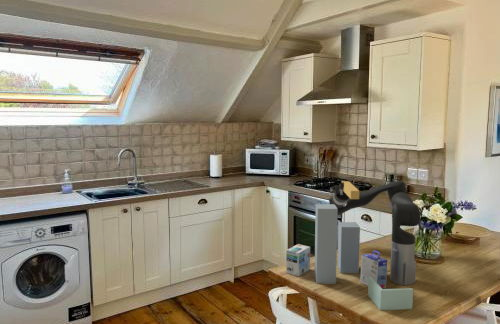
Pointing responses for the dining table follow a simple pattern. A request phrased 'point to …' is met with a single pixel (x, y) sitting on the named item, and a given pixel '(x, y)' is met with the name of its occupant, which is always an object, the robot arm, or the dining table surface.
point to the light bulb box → (298, 260)
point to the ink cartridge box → (374, 269)
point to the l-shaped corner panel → (390, 297)
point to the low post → (348, 247)
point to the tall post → (325, 243)
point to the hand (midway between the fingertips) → (347, 184)
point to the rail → (350, 190)
